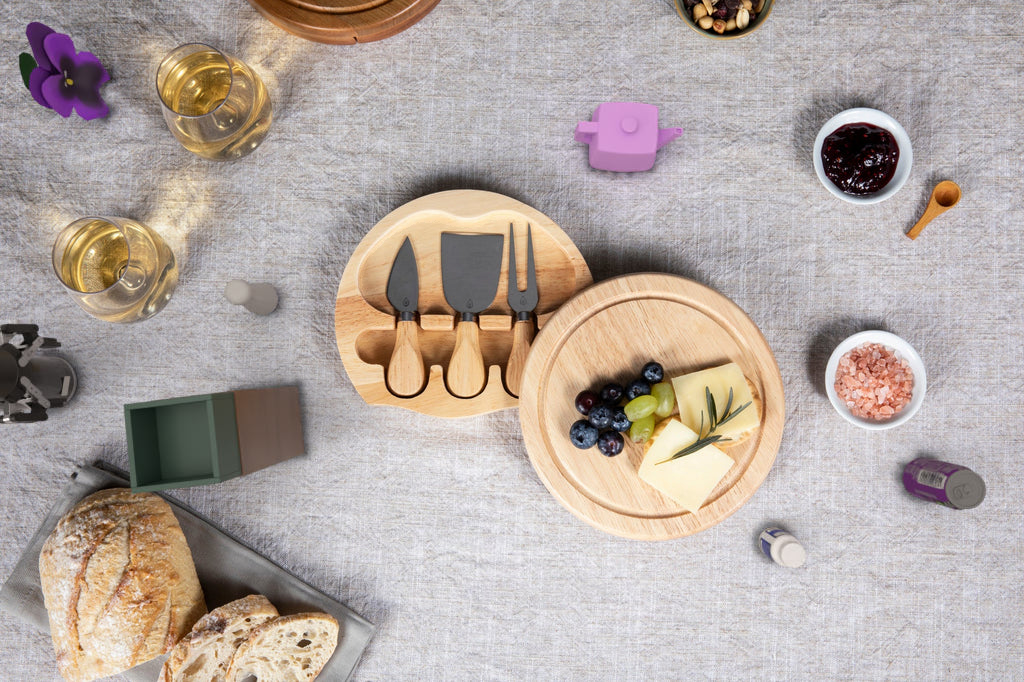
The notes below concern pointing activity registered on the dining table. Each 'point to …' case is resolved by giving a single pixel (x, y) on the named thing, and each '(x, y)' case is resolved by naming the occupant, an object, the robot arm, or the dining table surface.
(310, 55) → the dining table surface
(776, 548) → the pill bottle
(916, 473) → the beverage can
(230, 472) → the bin
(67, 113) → the flower
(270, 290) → the salt shaker
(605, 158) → the teapot
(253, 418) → the stand
